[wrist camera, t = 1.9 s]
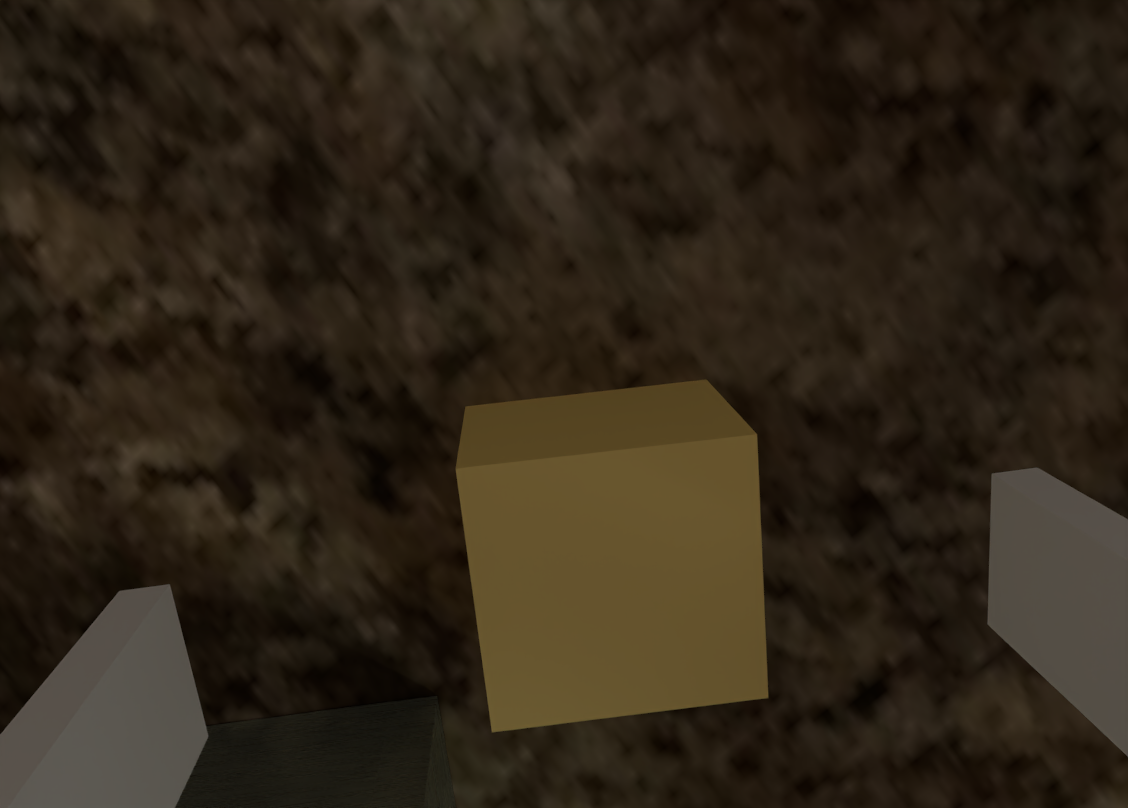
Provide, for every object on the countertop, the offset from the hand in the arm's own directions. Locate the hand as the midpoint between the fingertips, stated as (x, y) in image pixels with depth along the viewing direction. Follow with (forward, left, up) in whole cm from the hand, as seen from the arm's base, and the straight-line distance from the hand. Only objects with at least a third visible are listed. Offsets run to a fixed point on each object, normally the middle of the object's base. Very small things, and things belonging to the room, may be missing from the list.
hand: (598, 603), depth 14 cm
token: (0, 0, -5) cm, 5 cm away
